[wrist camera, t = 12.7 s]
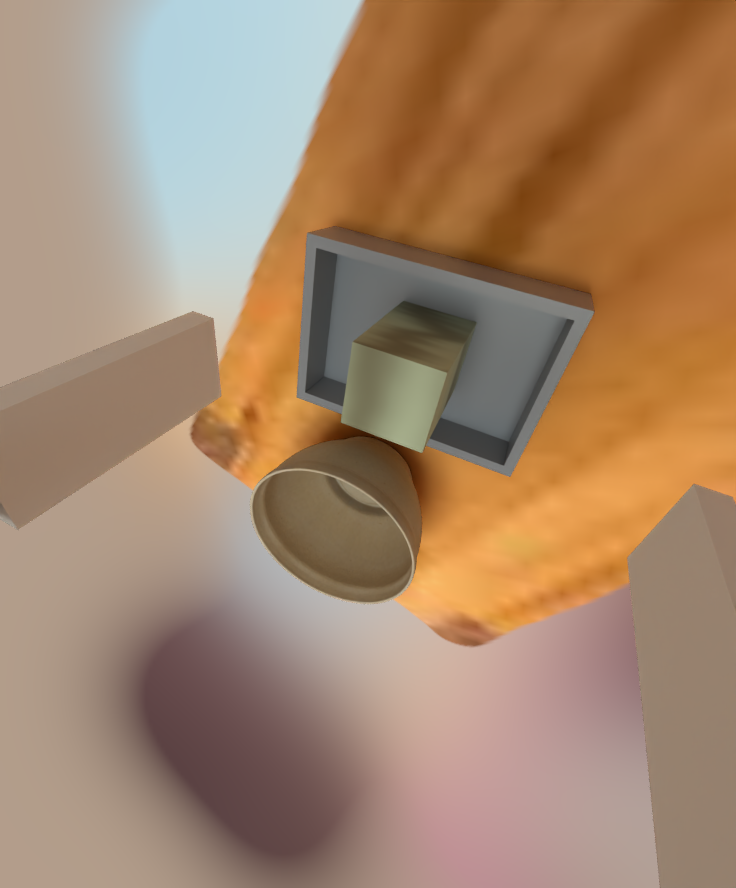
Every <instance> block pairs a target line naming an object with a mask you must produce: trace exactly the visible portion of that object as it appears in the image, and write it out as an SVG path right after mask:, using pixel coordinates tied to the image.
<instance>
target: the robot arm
mask: <svg viewBox="0 0 736 888" xmlns="http://www.w3.org/2000/svg"><path fill="white" fill-rule="evenodd" d="M219 397H221V387H220V377H219V368H218V358H217V349H216V340H215V330H214V320H213V318H211V317H208V316H205V315H202V314H199V313H196V312H193V311H192V312H190V313H187V314H185V315H182V316H180V317H177V318H175V319H172V320H170V321H167V322H164V323H162V324H159V325H157V326H154V327H152V328H149V329H147V330H144V331H142V332H139V333H136V334H134V335H132V336H129V337H126V338H124V339H121V340H119V341H116V342H114V343H111V344H109V345H106V346H104V347H101V348H98V349H96V350H93V351H91V352H89V353H86V354H83V355H81V356H78V357H76V358H73V359H71V360H68V361H65V362H63V363H60V364H58V365H55V366H53V367H50V368H48V369H45V370H43V371H40V372H38V373H35V374H32V375H30V376H27V377H25V378H22V379H20V380H17V381H15V382H12V383H10V384H7V385H5V386H2V387H0V520H2V521H4V522H5V523H7V524H9V525H11V526H12V527H14V528H16V529H20V528H21V527H23V526H24V525H26V524H27V523H29V522H30V521H32V520H33V519H35V518H36V517H38V516H40V515H41V514H43V513H44V512H46V511H47V510H49V509H50V508H52V507H53V506H55V505H56V504H58V503H59V502H61V501H62V500H63V499H65V498H67V497H68V496H70V495H72V494H73V493H75V492H76V491H78V490H79V489H81V488H82V487H84V486H85V485H87V484H88V483H90V482H91V481H93V480H94V479H96V478H97V477H99V476H100V475H102V474H104V473H105V472H107V471H108V470H110V469H111V468H113V467H114V466H116V465H117V464H119V463H120V462H122V461H123V460H125V459H126V458H128V457H129V456H131V455H132V454H134V453H135V452H137V451H139V450H140V449H141V448H143V447H144V446H146V445H148V444H149V443H151V442H152V441H154V440H155V439H157V438H158V437H160V436H161V435H163V434H164V433H166V432H167V431H169V430H171V429H172V428H173V427H175V426H176V425H178V424H180V423H181V422H183V421H184V420H186V419H187V418H189V417H190V416H192V415H193V414H195V413H196V412H198V411H199V410H201V409H203V408H204V407H206V406H207V405H209V404H210V403H212V402H213V401H215V400H216V399H218V398H219ZM627 559H628V569H629V579H630V589H631V599H632V610H633V620H634V630H635V639H636V650H637V660H638V671H639V681H640V690H641V701H642V710H643V721H644V731H645V741H646V752H647V762H648V772H649V782H650V792H651V802H652V812H653V822H654V832H655V843H656V853H657V863H658V873H659V883H660V888H736V504H735V502H734V499H733V497H731V496H728V495H725V494H722V493H719V492H716V491H713V490H710V489H708V488H705V487H702V486H699V485H696V484H693V485H692V487H691V488H690V489H689V490H688V491H687V492H686V493H685V494H684V495H683V496H682V498H681V499H680V500H679V501H678V502H677V503H676V504H675V505H674V506H673V508H672V509H671V510H670V511H669V512H668V513H667V514H666V515H665V516H664V518H663V519H662V520H661V521H660V522H659V523H658V524H657V525H656V526H655V528H654V529H653V530H652V531H651V532H650V533H649V534H648V535H647V536H646V538H645V539H644V540H643V541H642V542H641V543H640V544H639V545H638V546H637V548H636V549H635V550H634V551H633V552H632V553H631V554H630V555H629V556H628V558H627Z"/></svg>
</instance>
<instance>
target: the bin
mask: <svg viewBox="0 0 736 888" xmlns="http://www.w3.org/2000/svg"><path fill="white" fill-rule="evenodd" d="M403 301H406V302H410V303H413V304H417V305H420V306H423V307H427V308H430V309H433V310H437V311H440V312H443V313H447V314H450V315H454V316H457V317H460V318H464V319H467V320H470V321H474V322H477V324H476V327H475V330H474V333H473V336H472V339H471V342H470V345H469V348H468V351H467V354H466V357H465V360H464V363H463V366H462V368H461V371H460V374H459V377H458V380H457V383H456V386H455V389H454V392H453V394H452V395H451V397H450V399H449V401H448V403H447V405H446V407H445V409H444V411H443V413H442V415H441V417H440V419H439V421H438V423H437V425H436V427H435V429H434V431H433V433H432V435H431V437H430V439H429V441H428V443H427V445H426V446H429V447H431V448H434V449H437V450H439V451H442V452H445V453H447V454H450V455H453V456H455V457H458V458H461V459H463V460H466V461H469V462H471V463H474V464H477V465H480V466H482V467H485V468H488V469H490V470H493V471H496V472H498V473H501V474H504V475H506V476H509V477H510V476H511V474H512V472H513V470H514V468H515V466H516V464H517V463H518V461H519V459H520V457H521V455H522V453H523V451H524V449H525V447H526V445H527V443H528V441H529V439H530V437H531V435H532V433H533V431H534V429H535V427H536V425H537V423H538V421H539V419H540V418H541V416H542V414H543V412H544V410H545V408H546V406H547V404H548V402H549V400H550V398H551V396H552V394H553V392H554V390H555V388H556V386H557V384H558V382H559V380H560V378H561V376H562V374H563V373H564V371H565V369H566V367H567V365H568V363H569V361H570V359H571V357H572V355H573V353H574V351H575V349H576V347H577V345H578V343H579V341H580V339H581V337H582V335H583V333H584V331H585V329H586V327H587V326H588V324H589V322H590V320H591V318H592V316H593V314H594V312H595V311H594V306H593V301H592V296H591V294H589V293H585V292H582V291H578V290H574V289H570V288H566V287H563V286H559V285H555V284H551V283H548V282H544V281H540V280H536V279H533V278H529V277H525V276H521V275H518V274H514V273H510V272H506V271H502V270H499V269H495V268H491V267H487V266H484V265H480V264H476V263H472V262H469V261H465V260H461V259H457V258H454V257H450V256H446V255H442V254H438V253H435V252H431V251H427V250H423V249H420V248H416V247H412V246H408V245H405V244H401V243H397V242H393V241H390V240H386V239H382V238H378V237H374V236H371V235H367V234H363V233H359V232H356V231H352V230H348V229H344V228H341V227H337V226H333V227H329V228H325V229H321V230H317V231H313V232H309V233H307V242H306V258H305V274H304V289H303V305H302V321H301V337H300V353H299V369H298V385H297V398H300V399H303V400H305V401H308V402H311V403H313V404H316V405H319V406H321V407H324V408H327V409H329V410H332V411H335V412H337V413H340V414H342V410H343V404H344V397H345V390H346V383H347V376H348V370H349V363H350V356H351V349H352V342H353V341H354V340H355V339H357V338H358V337H359V336H360V335H362V334H363V333H364V332H365V331H367V330H368V329H369V328H370V327H372V326H373V325H374V324H375V323H377V322H378V321H379V320H380V319H382V318H383V317H384V316H385V315H386V314H388V313H389V312H390V311H391V310H393V309H394V308H395V307H396V306H398V305H399V304H400V303H401V302H403Z"/></svg>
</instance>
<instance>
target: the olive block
mask: <svg viewBox="0 0 736 888" xmlns="http://www.w3.org/2000/svg"><path fill="white" fill-rule="evenodd" d="M476 324H477V322H474V321H470V320H467V319H464V318H460V317H457V316H454V315H450V314H447V313H443V312H440V311H437V310H433V309H430V308H427V307H423V306H420V305H417V304H413V303H410V302H406V301H403V302H401V303H400V304H399V305H398V306H396V307H395V308H394V309H393V310H391V311H390V312H389V313H388V314H386V315H385V316H384V317H383V318H382V319H380V320H379V321H378V322H377V323H375V324H374V325H373V326H372V327H370V328H369V329H368V330H367V331H365V332H364V333H363V334H362V335H360V336H359V337H358V338H357V339H355V340H354V341H353V342H352V349H351V356H350V363H349V370H348V376H347V383H346V390H345V397H344V404H343V410H342V417H341V423H344V424H346V425H349V426H352V427H354V428H357V429H359V430H362V431H365V432H367V433H370V434H373V435H375V436H378V437H381V438H383V439H386V440H389V441H391V442H394V443H396V444H399V445H402V446H404V447H407V448H410V449H412V450H415V451H418V452H420V453H422V452H423V451H424V449H425V447H426V445H427V443H428V441H429V439H430V437H431V435H432V433H433V431H434V429H435V427H436V425H437V423H438V421H439V419H440V417H441V415H442V413H443V411H444V409H445V407H446V405H447V403H448V401H449V399H450V397H451V395H452V394H453V392H454V389H455V386H456V383H457V380H458V377H459V374H460V371H461V368H462V366H463V363H464V360H465V357H466V354H467V351H468V348H469V345H470V342H471V339H472V336H473V333H474V330H475V327H476Z"/></svg>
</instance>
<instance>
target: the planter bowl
mask: <svg viewBox="0 0 736 888" xmlns="http://www.w3.org/2000/svg"><path fill="white" fill-rule="evenodd" d="M250 514H251V519H252V523H253V527H254V529H255V531H256V534H257V535H258V537H259V539H260V541H261V543H262V544H263V546H264V547H265V549H266V550H267V551H268V552H269V554H270V555H271V556H272V557H273V558H274V560H275V561H276V562H277V563H278V564H279V565H280V566H282V567H283V568H284V569H285V570H286V571H287V572H288V573H289V574H291V575H292V576H293V577H295V578H296V579H298V580H299V581H300V582H302V583H304V584H305V585H307V586H308V587H310V588H312V589H314V590H316V591H318V592H320V593H323V594H325V595H328V596H330V597H333V598H336V599H339V600H343V601H347V602H352V603H359V604H378V603H383V602H386V601H389V600H392V599H394V598H396V597H398V596H399V595H401V594H402V593H403V592H404V591H405V590H406V589H407V588H408V586H409V585H410V583H411V581H412V579H413V576H414V573H415V569H416V562H417V555H418V551H419V547H420V542H421V534H422V516H421V508H420V503H419V498H418V495H417V492H416V489H415V487H414V484H413V482H412V475H411V472H410V469H409V467H408V465H407V463H406V461H405V460H404V459H403V458H402V456H401V455H400V454H399V453H398V452H397V451H396V450H394V449H393V448H392V447H390V446H389V445H387V444H386V443H384V442H382V441H379V440H377V439H373V438H369V437H361V436H360V437H351V438H348V439H345V440H332V441H327V442H323V443H319V444H316V445H313V446H310V447H308V448H306V449H303V450H301V451H299V452H298V453H296V454H294V455H293V456H291V457H290V458H288V459H287V460H285V461H284V462H283V463H282V464H280V465H279V466H278V467H277V468H276V469H274V470H273V471H271V472H270V473H268V474H267V475H266V476H265V477H263V478H262V479H261V480H260V481H259V482H258V484H257V485H256V486H255V488H254V490H253V492H252V496H251V499H250Z"/></svg>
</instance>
